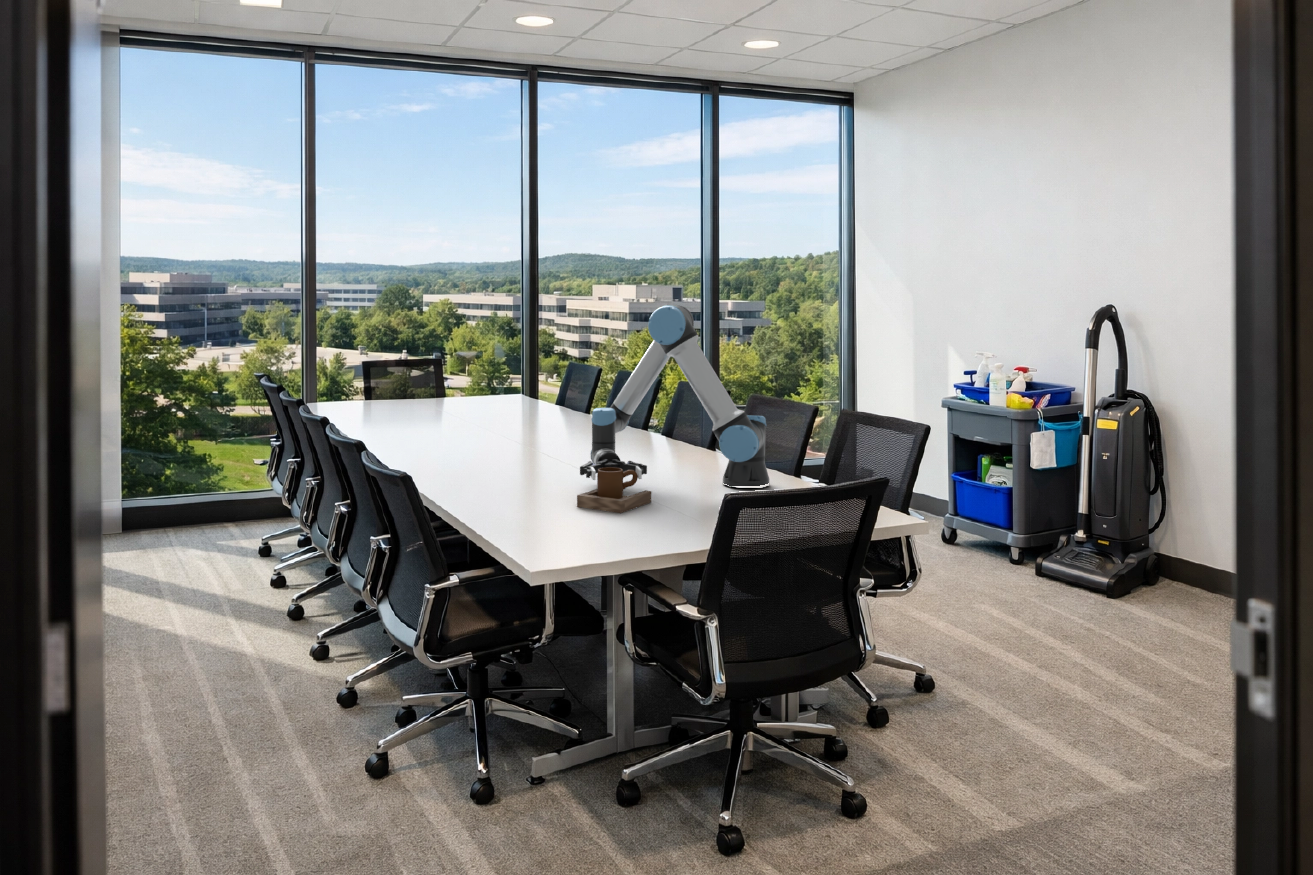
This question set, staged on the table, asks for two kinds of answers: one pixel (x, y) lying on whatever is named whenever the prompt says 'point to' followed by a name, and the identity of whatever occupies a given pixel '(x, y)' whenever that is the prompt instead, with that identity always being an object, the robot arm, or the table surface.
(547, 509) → the table surface
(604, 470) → the mug
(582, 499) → the u rest
